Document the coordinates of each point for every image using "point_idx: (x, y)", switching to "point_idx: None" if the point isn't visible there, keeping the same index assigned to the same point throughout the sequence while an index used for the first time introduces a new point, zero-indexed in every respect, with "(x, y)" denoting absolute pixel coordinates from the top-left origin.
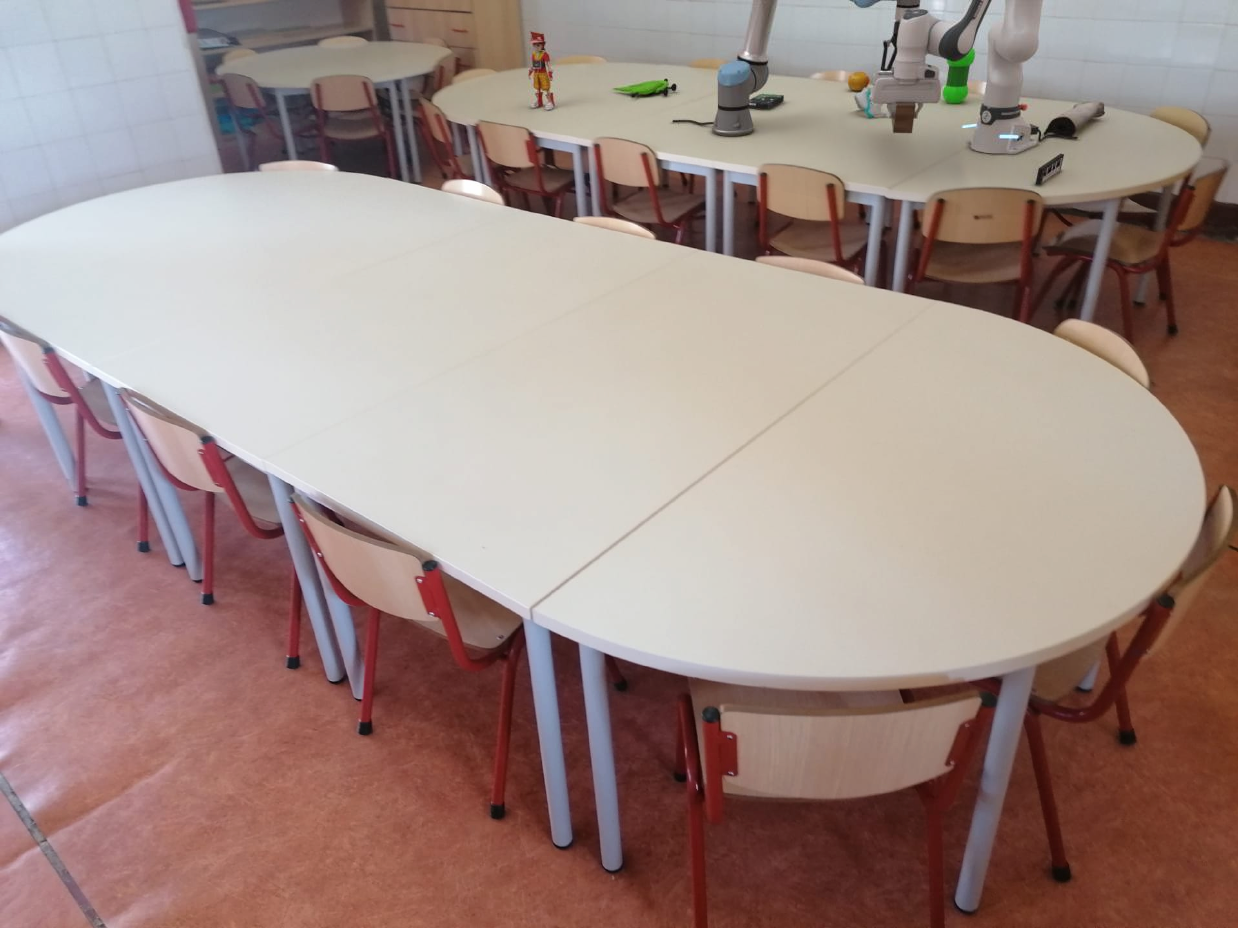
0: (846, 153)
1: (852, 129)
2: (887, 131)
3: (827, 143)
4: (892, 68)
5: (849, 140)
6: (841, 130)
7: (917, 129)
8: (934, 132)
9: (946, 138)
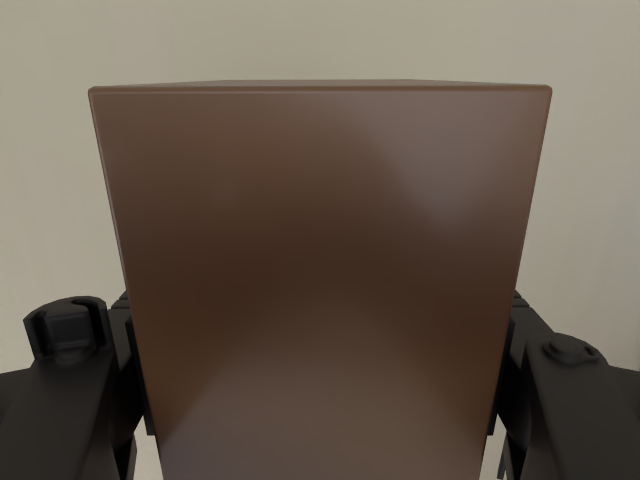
0: (138, 429)
1: (84, 28)
2: (296, 74)
3: (23, 306)
4: (145, 295)
5: (113, 257)
6: (23, 55)
7: (478, 21)
8: (562, 93)
9: (590, 213)
